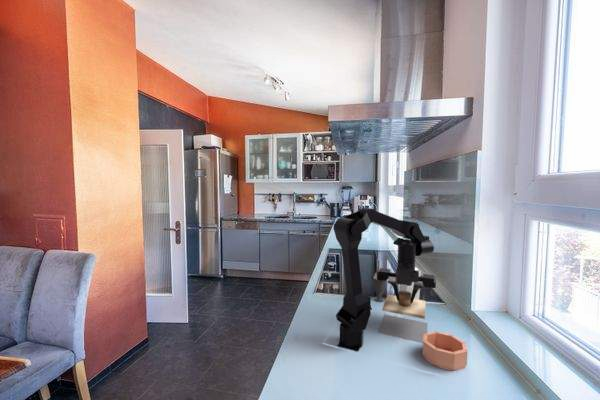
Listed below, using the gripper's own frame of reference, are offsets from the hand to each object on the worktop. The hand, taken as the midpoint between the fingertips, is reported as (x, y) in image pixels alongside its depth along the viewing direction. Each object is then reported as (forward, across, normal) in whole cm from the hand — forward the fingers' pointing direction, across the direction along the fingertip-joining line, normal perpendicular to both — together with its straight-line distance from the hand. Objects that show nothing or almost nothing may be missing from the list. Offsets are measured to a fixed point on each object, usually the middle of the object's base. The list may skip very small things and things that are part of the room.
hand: (404, 301), depth 97 cm
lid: (+2, 0, 0) cm, 2 cm away
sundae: (+10, -12, +20) cm, 25 cm away
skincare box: (+10, 0, +26) cm, 28 cm away
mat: (+10, 0, 0) cm, 10 cm away
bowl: (+10, +12, -13) cm, 20 cm away
